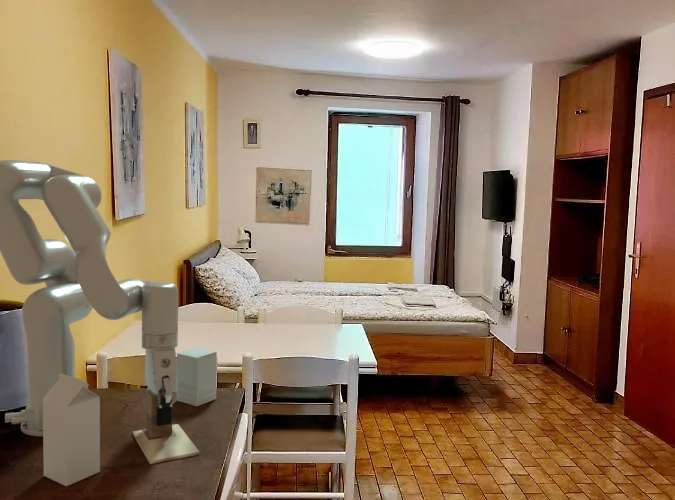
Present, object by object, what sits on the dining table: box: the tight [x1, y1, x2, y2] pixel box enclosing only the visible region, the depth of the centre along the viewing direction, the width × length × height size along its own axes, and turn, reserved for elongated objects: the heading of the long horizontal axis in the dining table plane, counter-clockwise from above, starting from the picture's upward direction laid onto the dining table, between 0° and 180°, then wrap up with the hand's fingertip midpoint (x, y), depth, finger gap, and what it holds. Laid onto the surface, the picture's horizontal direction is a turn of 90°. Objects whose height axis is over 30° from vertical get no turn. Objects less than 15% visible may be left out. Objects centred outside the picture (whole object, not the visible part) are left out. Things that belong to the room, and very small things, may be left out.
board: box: [132, 423, 201, 465], centre depth 129 cm, size 10×16×1 cm, turn 30°
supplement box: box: [176, 347, 218, 407], centre depth 155 cm, size 7×7×13 cm
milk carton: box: [42, 373, 101, 487], centre depth 113 cm, size 7×7×19 cm
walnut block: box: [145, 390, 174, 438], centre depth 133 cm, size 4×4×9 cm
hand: (159, 417), depth 133 cm, fingers open, 7 cm apart
